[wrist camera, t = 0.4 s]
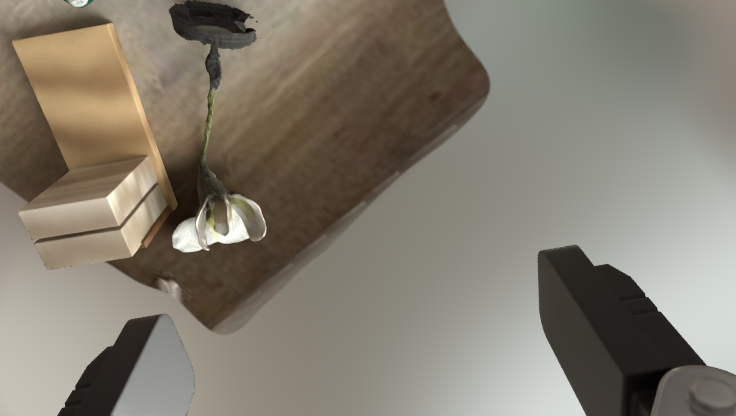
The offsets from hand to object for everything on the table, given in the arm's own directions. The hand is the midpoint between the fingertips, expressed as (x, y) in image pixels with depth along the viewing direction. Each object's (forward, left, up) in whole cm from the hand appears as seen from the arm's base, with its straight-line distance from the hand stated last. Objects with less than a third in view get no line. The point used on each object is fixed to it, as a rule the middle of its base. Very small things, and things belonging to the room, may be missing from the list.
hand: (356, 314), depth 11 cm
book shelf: (+3, -23, -37) cm, 44 cm away
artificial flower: (+6, -12, -37) cm, 40 cm away
